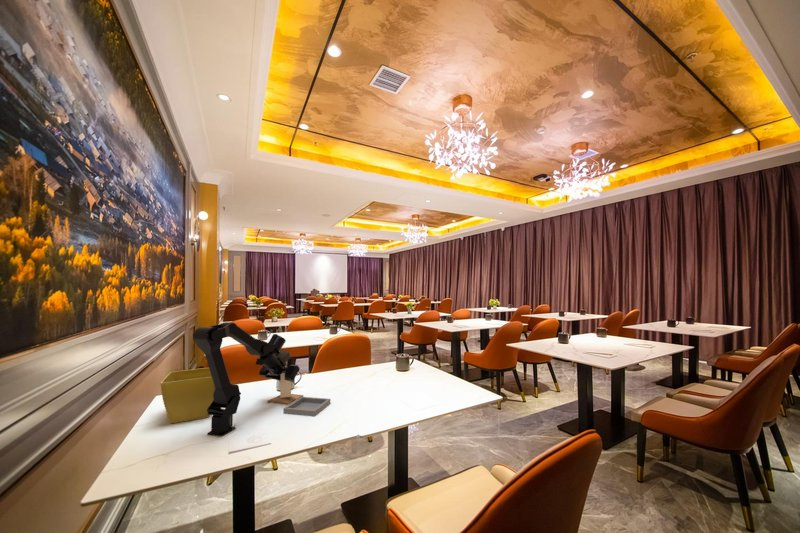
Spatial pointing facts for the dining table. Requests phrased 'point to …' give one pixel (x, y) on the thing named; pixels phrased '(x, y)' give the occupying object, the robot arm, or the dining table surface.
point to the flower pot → (187, 394)
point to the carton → (285, 387)
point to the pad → (285, 399)
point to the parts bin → (307, 406)
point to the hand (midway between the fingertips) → (287, 380)
